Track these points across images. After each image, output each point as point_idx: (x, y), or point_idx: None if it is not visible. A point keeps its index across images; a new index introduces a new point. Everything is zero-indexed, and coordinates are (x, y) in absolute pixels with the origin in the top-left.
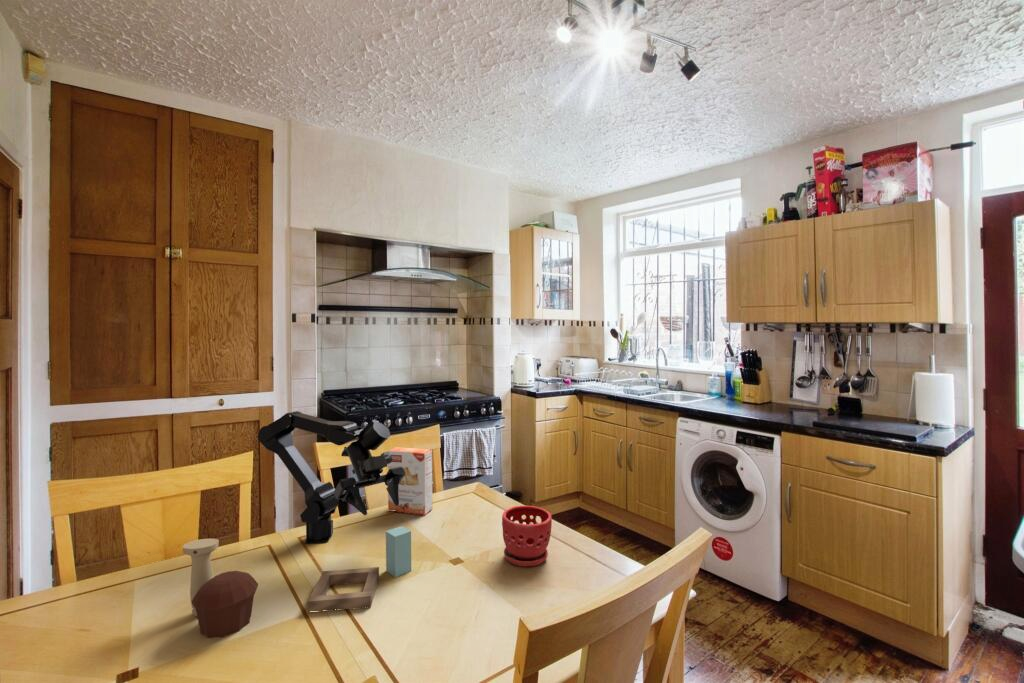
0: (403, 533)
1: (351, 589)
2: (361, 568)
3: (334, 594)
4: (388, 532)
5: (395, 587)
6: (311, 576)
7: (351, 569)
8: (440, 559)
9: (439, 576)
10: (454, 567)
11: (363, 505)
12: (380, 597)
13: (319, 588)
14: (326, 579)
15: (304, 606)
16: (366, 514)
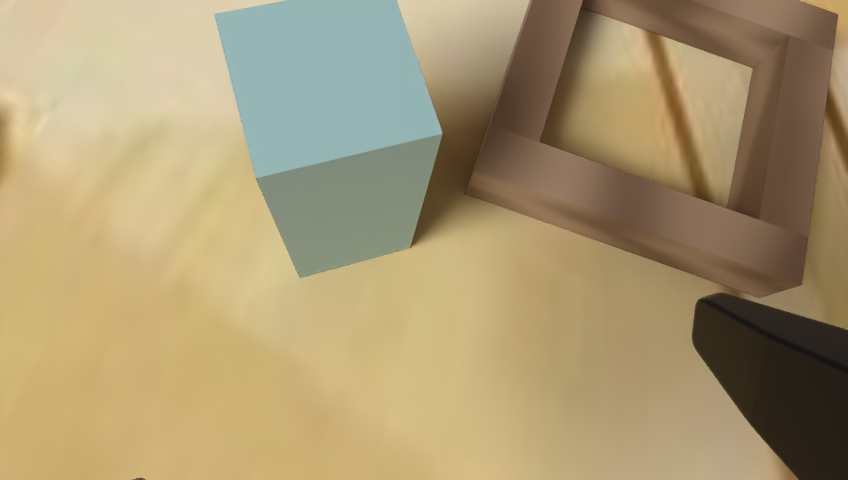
0: (299, 3)
1: (615, 144)
2: (578, 205)
3: (723, 9)
4: (424, 94)
5: None
6: None
7: (637, 221)
8: (44, 222)
9: (154, 39)
10: (23, 85)
11: (835, 347)
12: (491, 9)
13: (800, 99)
14: (773, 174)
15: None
16: (694, 322)
